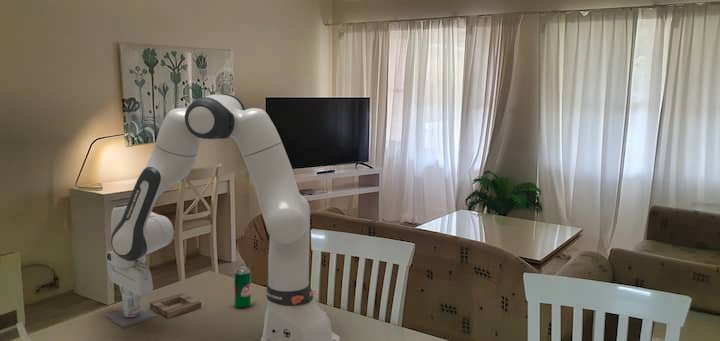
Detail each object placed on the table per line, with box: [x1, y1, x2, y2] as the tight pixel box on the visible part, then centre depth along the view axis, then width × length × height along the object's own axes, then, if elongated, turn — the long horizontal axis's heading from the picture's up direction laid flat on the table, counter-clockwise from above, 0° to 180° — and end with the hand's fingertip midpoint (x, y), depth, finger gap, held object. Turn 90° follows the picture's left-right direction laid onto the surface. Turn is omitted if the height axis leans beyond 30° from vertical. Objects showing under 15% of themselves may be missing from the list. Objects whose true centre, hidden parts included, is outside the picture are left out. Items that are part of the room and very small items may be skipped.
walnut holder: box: [149, 292, 202, 319], centre depth 167 cm, size 11×11×2 cm
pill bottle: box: [121, 288, 141, 317], centre depth 159 cm, size 5×5×8 cm
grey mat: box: [106, 305, 157, 328], centre depth 160 cm, size 10×10×1 cm
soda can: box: [233, 266, 252, 309], centre depth 170 cm, size 5×5×12 cm
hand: (131, 302), depth 159 cm, fingers closed on pill bottle, 5 cm apart
